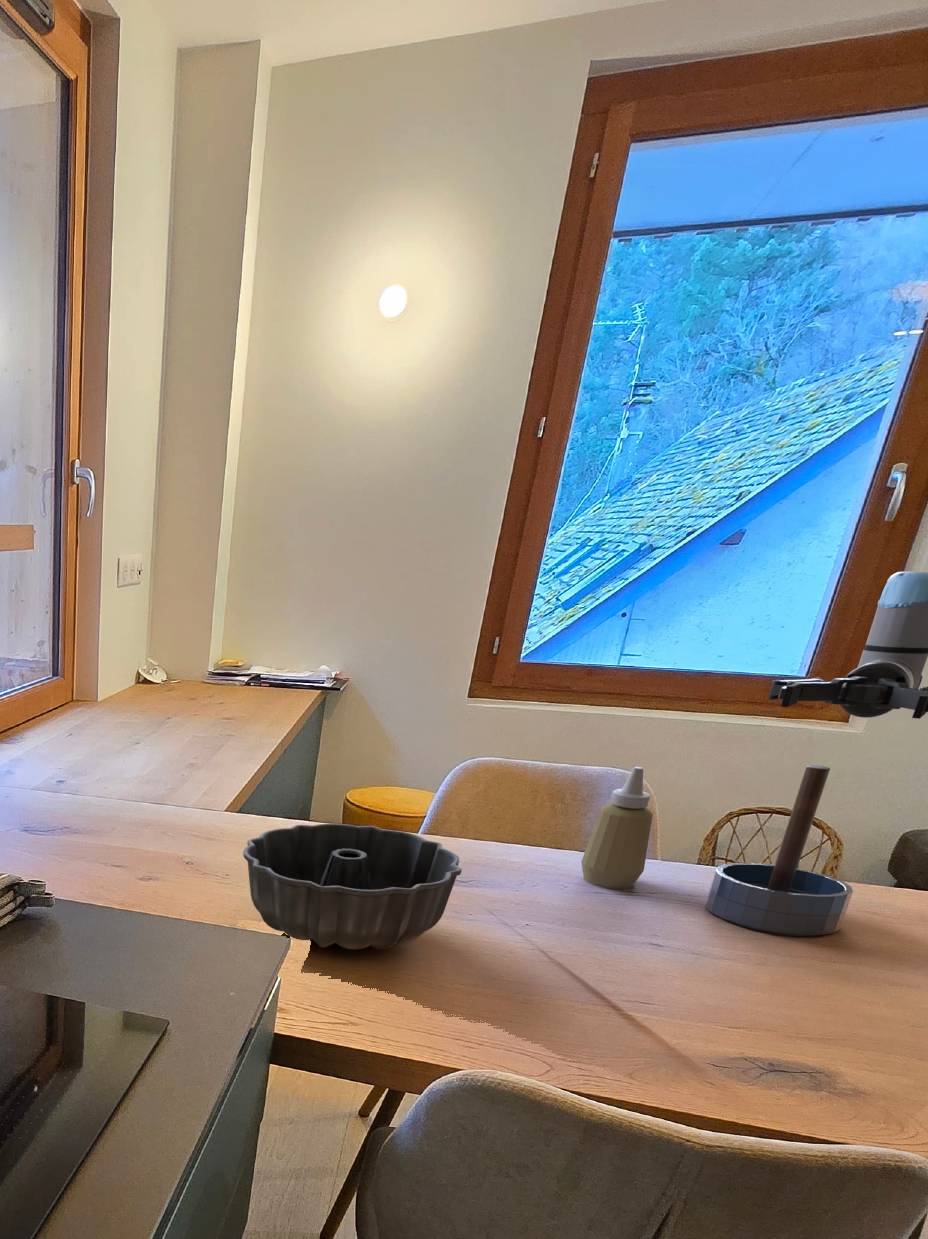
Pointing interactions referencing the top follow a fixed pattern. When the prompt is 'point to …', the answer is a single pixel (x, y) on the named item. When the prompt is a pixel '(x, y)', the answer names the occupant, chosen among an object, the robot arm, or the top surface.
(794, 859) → the stirring stick
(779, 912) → the bowl
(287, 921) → the bundt pan
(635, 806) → the squeeze bottle
